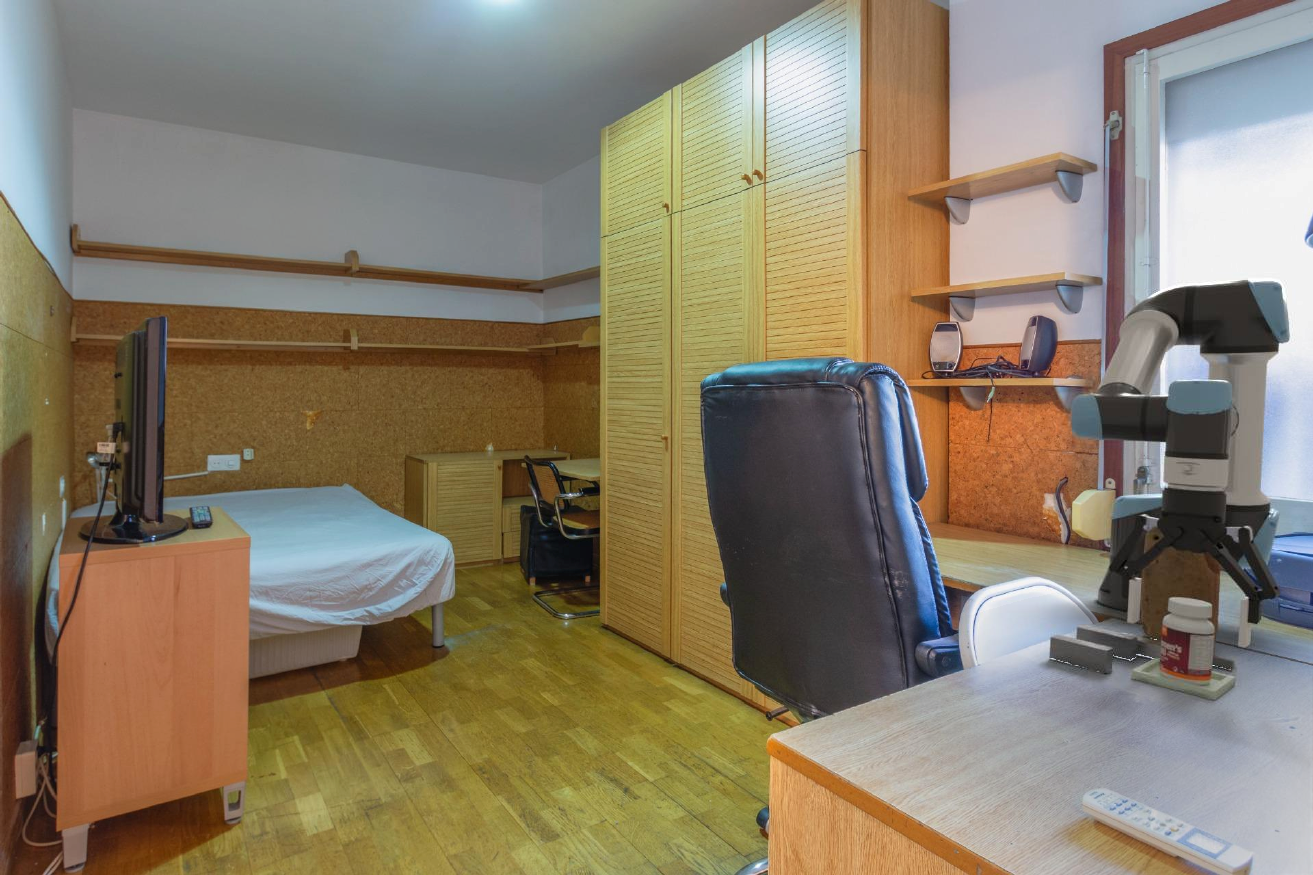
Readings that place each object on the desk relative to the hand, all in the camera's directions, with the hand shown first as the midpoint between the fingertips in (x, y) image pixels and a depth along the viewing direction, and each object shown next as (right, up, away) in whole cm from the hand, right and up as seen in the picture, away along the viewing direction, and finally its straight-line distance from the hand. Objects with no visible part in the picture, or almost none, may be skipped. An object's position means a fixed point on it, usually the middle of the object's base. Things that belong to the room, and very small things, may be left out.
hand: (1186, 632), depth 109 cm
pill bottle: (0, -7, 0) cm, 7 cm away
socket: (-8, -7, +9) cm, 14 cm away
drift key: (+2, -7, +12) cm, 14 cm away
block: (+13, -7, +20) cm, 25 cm away
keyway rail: (+7, -7, +12) cm, 15 cm away
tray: (-1, -7, 0) cm, 7 cm away
